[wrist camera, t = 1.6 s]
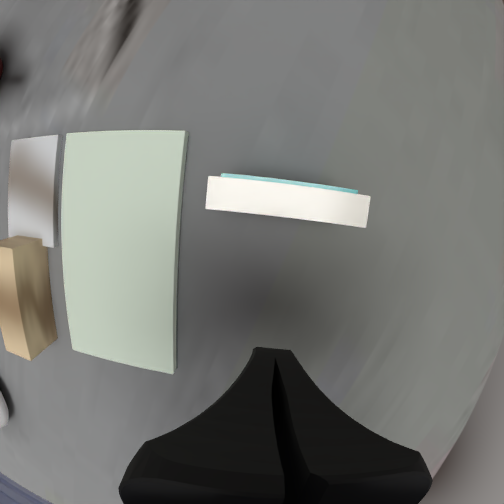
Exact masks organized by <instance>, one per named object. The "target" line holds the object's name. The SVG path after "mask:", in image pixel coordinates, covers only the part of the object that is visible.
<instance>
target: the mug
mask: <svg viewBox="0 0 504 504" xmlns="http://www.w3.org/2000/svg"><path fill="white" fill-rule="evenodd" d="M2 71H3V63H2V60H1V58H0V78H1V75H2Z"/></svg>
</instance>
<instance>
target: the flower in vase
mask: <svg viewBox="0 0 504 504" xmlns="http://www.w3.org/2000/svg"><path fill="white" fill-rule="evenodd" d="M8 418H9V412H8V408H7V405H6V402H5V400H4V397H3V395H2V393H1V391H0V428H1V427H4V426H6V425H7V424H8Z"/></svg>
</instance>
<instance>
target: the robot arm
mask: <svg viewBox="0 0 504 504" xmlns="http://www.w3.org/2000/svg"><path fill="white" fill-rule="evenodd" d="M431 484H432V477H431V475H430V472H429V470H428V468H427V466H426V463H425V461H424V460H423V458H422V456H421V454H420V452H418V451H415V450H412V449H409V448H407V447H404V446H402V445H399V444H396V443H394V442H392V441H389V440H387V439H385V438H384V437H382V436H380V435H378V434H376V433H374V432H372V431H370V430H369V429H367V428H365V427H364V426H362V425H361V424H359V423H358V422H356V421H355V420H353V419H352V418H351V417H349V416H348V415H347V414H345V413H344V412H343V411H342V410H341V409H339V408H338V407H337V406H336V405H335V404H334V403H332V402H331V401H330V400H329V399H328V398H327V397H326V396H325V395H324V394H323V392H322V391H321V390H320V389H319V388H318V387H317V386H316V385H315V383H314V382H313V381H312V379H311V378H310V377H309V376H308V374H307V373H306V372H305V370H304V369H303V368H302V366H301V365H300V363H299V362H298V360H297V359H296V357H295V356H294V354H293V353H292V351H291V350H283V349H272V348H262V347H256V348H254V349H253V352H252V355H251V358H250V360H249V361H248V363H247V365H246V367H245V368H244V370H243V371H242V373H241V374H240V376H239V377H238V378H237V379H236V381H235V382H234V383H233V384H232V385H231V387H230V388H229V389H228V390H227V391H226V392H225V393H224V394H223V395H222V396H221V397H220V398H219V399H218V400H217V401H216V402H215V403H214V404H213V405H211V406H210V407H209V408H208V409H206V410H205V411H204V412H202V413H201V414H200V415H198V416H197V417H195V418H194V419H192V420H191V421H189V422H187V423H185V424H184V425H182V426H180V427H179V428H177V429H175V430H173V431H171V432H169V433H167V434H164V435H162V436H159V437H157V438H155V439H152V440H149V441H146V442H145V443H144V444H143V445H142V447H141V448H140V449H139V451H138V452H137V453H136V455H135V456H134V458H133V459H132V461H131V462H130V464H129V465H128V467H127V469H126V472H125V474H124V476H123V479H122V481H121V483H120V486H119V494H120V497H121V499H122V501H123V504H418V503H419V502H420V501H421V500H422V499H423V497H424V496H425V495H426V493H427V492H428V491H429V489H430V487H431ZM0 504H53V503H51V502H49V501H47V500H45V499H43V498H41V497H40V496H38V495H36V494H34V493H33V492H31V491H29V490H27V489H26V488H24V487H22V486H21V485H19V484H17V483H16V482H14V481H13V480H11V479H10V478H8V477H7V476H5V475H4V474H2V473H1V472H0Z"/></svg>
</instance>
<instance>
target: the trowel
mask: <svg viewBox="0 0 504 504" xmlns="http://www.w3.org/2000/svg"><path fill="white" fill-rule="evenodd" d="M62 139H63V136H62V135H51V136H42V137H33V138H25V139H18V140H12V143H11V153H10V165H9V183H8V230H9V238H7V239H3V240H0V326H1V331H2V335H3V339H4V343H5V347H6V350H7V351H9V352H12V353H14V354H16V355H18V356H21V357H23V358H25V359H28V360H30V361H32V360H33V359H34V358H35V357H36V356H37V355H39V354H40V353H41V352H42V351H43V350H44V349H46V348H47V347H48V346H49V345H50V344H51V343H53V342H54V341H55V340H56V339H57V338H58V337H57V332H56V326H55V319H54V313H53V305H52V298H51V289H50V279H49V267H48V251H47V247H53V248H54V247H57V246H58V189H59V171H60V159H61V148H62Z"/></svg>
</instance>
